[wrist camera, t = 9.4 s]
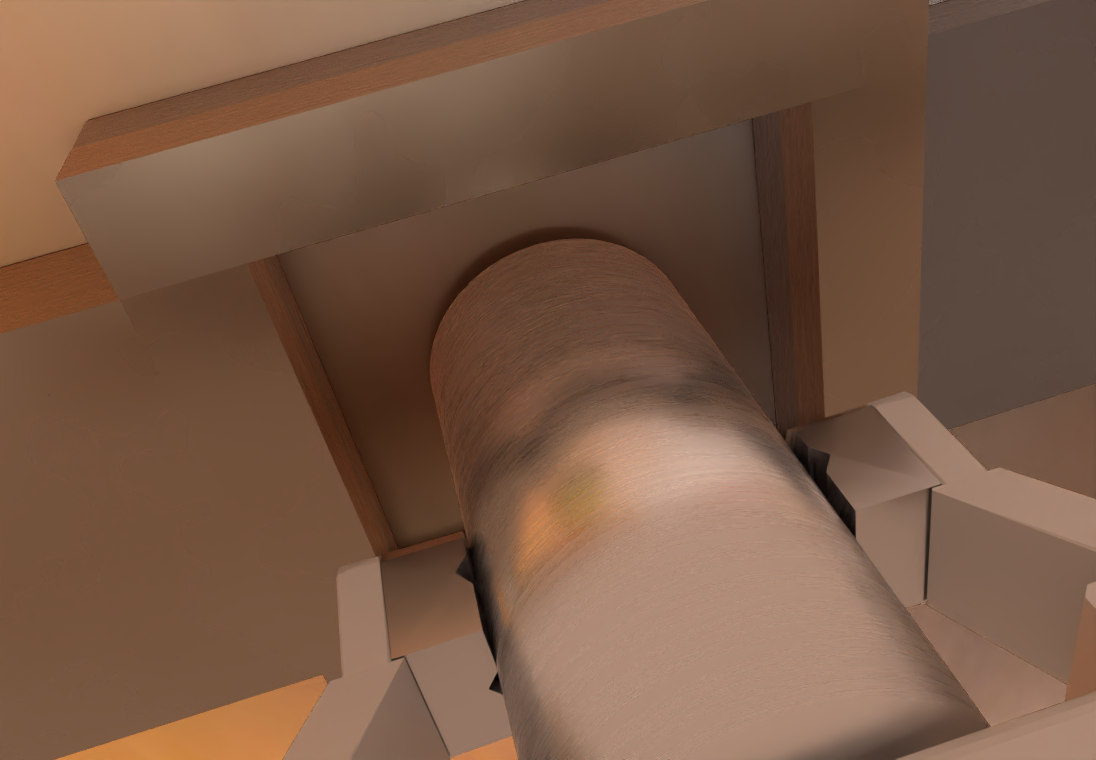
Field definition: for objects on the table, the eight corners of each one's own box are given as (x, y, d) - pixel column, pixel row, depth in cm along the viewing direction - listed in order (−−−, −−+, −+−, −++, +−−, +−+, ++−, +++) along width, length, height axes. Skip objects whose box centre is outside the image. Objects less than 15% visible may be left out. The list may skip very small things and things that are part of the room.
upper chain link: (847, -88, 12) (956, -55, 10) (856, 477, 18) (928, 569, 16) (-810, 366, 11) (-1056, 506, 9) (-233, 821, 17) (-304, 968, 15)
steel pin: (673, 206, 14) (1032, 635, 7) (699, 424, 16) (988, 898, 9) (397, 283, 13) (509, 806, 7) (465, 494, 16) (596, 1035, 9)
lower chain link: (1562, -283, 13) (1792, -287, 11) (1353, 320, 19) (1481, 389, 17) (86, 121, 12) (44, 199, 10) (346, 638, 18) (353, 755, 16)
